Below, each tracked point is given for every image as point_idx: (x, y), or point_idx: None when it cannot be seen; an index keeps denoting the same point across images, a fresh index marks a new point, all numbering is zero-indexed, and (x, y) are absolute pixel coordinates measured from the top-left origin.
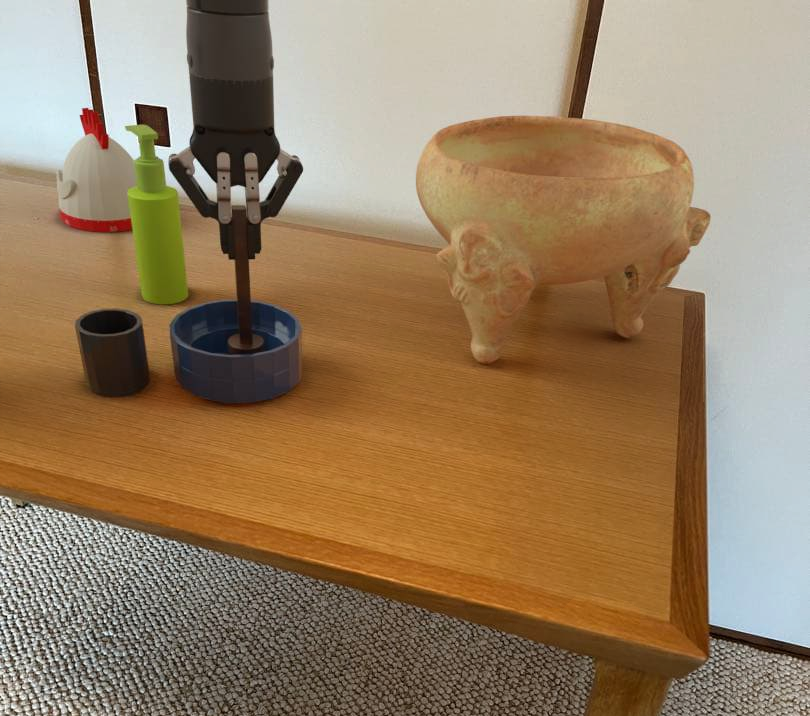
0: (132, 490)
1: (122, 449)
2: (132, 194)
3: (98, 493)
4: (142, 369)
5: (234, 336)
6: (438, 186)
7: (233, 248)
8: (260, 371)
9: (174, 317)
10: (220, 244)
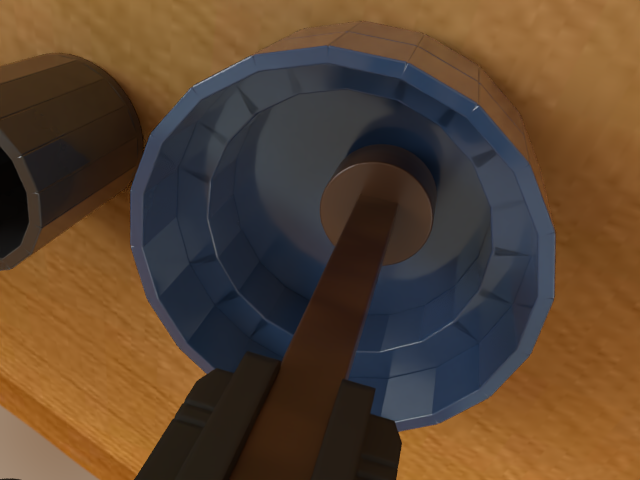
0: (115, 455)
1: (97, 363)
2: None
3: (71, 442)
4: (104, 201)
5: (347, 179)
6: None
7: None
8: None
9: (146, 148)
10: (196, 386)
